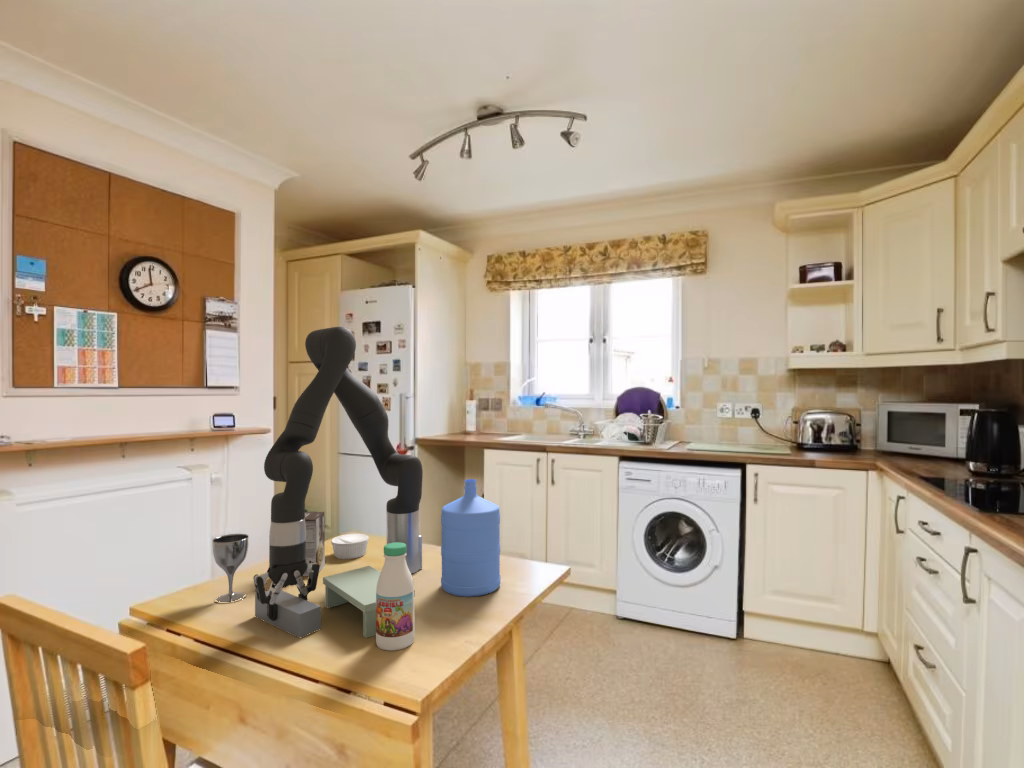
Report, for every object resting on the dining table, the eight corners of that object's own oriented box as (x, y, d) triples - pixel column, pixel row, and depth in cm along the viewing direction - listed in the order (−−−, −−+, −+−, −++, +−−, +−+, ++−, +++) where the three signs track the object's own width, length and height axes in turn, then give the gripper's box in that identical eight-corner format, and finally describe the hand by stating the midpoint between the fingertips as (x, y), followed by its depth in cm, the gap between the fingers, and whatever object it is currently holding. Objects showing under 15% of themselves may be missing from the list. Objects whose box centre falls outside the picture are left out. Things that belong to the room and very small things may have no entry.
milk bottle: (379, 634, 109) (379, 540, 109) (416, 632, 110) (415, 538, 110) (372, 652, 101) (372, 551, 102) (412, 651, 102) (412, 550, 102)
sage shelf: (369, 593, 131) (369, 565, 131) (414, 621, 115) (414, 590, 115) (322, 606, 123) (322, 577, 123) (364, 639, 107) (364, 605, 107)
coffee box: (303, 566, 152) (303, 511, 152) (325, 565, 153) (325, 510, 153) (292, 577, 143) (292, 519, 143) (316, 576, 144) (316, 518, 144)
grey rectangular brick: (275, 609, 122) (275, 588, 122) (320, 629, 111) (321, 606, 112) (254, 616, 118) (255, 594, 118) (299, 638, 107) (299, 614, 108)
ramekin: (324, 559, 158) (324, 542, 158) (342, 548, 169) (342, 532, 169) (358, 561, 156) (358, 544, 156) (374, 550, 167) (374, 534, 167)
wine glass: (232, 605, 124) (232, 543, 124) (204, 603, 126) (204, 541, 126) (255, 593, 132) (255, 534, 132) (228, 590, 133) (228, 532, 134)
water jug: (508, 592, 131) (508, 483, 131) (448, 601, 126) (448, 487, 126) (490, 572, 146) (489, 474, 146) (435, 580, 140) (435, 477, 141)
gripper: (313, 530, 123) (312, 601, 122) (248, 542, 113) (247, 619, 113) (326, 537, 117) (325, 611, 117) (258, 550, 107) (257, 631, 107)
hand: (287, 615), depth 115 cm, fingers closed on grey rectangular brick, 5 cm apart
